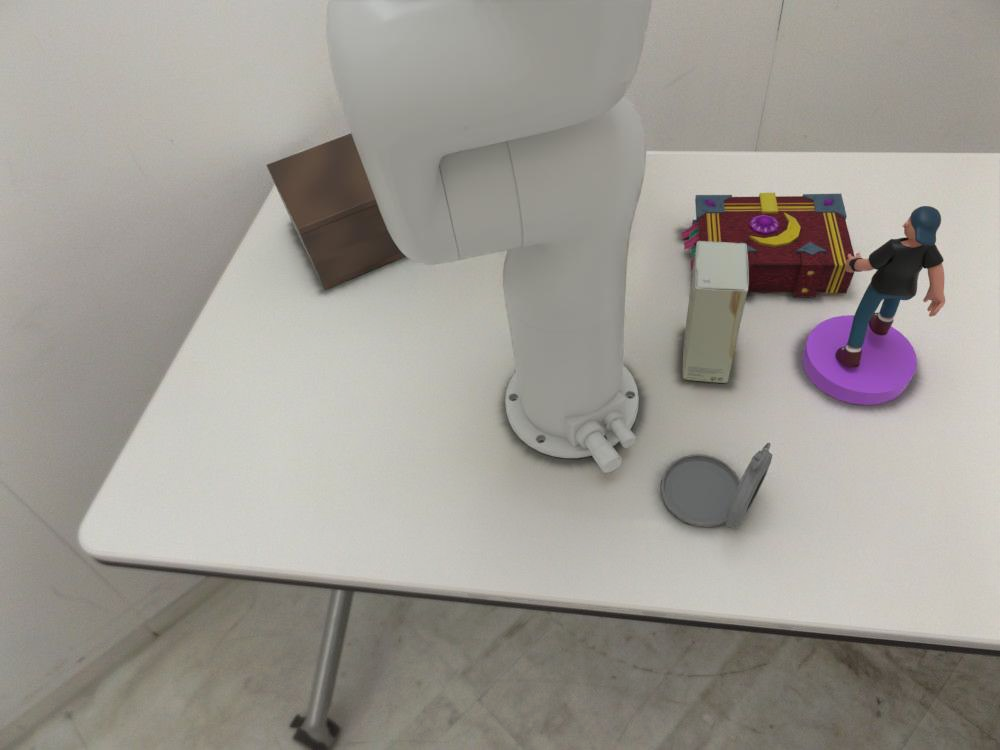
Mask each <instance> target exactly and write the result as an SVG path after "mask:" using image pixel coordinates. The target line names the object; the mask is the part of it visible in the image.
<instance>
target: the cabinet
mask: <svg viewBox="0 0 1000 750" xmlns="http://www.w3.org/2000/svg"><path fill="white" fill-rule="evenodd" d="M266 168H267V170H268V172H269V174H270V176H271V179H272V181H273V183H274V185H275V188H276V191H277V192H278V195H279V197H280V199H281V201H282V203H283V207H284V208H285V210H286V212H287V215H288V218H289V220H290V221H291V224H292V225H293V228H294V230H295V232H296V234H297V236H298V238H299V240H300V242H301V244H302V247H303V248H304V250H305V252H306V254H307V256H308V258H309V261H310V263H311V264H312V267H313V269H314V271H315V273H316V275H317V277H318V279H319V281H320V283H321V285H322V287H323V290H325V291H326V290H328V289H331V288H333V287H336V286H338V285H340V284H343V283H344V282H348V281H350V280H352V279H355V278H357V277H360V276H362V275H365V274H367V273H369V272H371V271H374V270H376V269H379V268H381V267H384V266H386V265H388V264H390V263H394V262H395V261H398V260H400V259H403V258H405V257H406V256H405V255H404V254H403V253H402V252H401V251H400V250H399V248H398V247H397V245H396V244H395V242H394V241H393V239H392V237H391V235H390V234H389V232H388V229H387V227H386V225H385V222H384V220H383V217H382V215H381V213H380V210H379V207H378V204H377V202H376V199H375V196H374V193H373V191H372V188H371V185H370V183H369V180H368V177H367V175H366V172H365V169H364V166H363V164H362V161H361V158H360V156H359V153H358V150H357V148H356V145H355V142H354V140H353V137H352V134H351V132H350V133H348V134H345V135H343V136H340V137H337V138H334V139H332V140H329V141H327V142H323V143H321V144H318V145H316V146H313V147H310V148H308V149H305V150H302V151H300V152H297V153H294V154H292V155H288V156H287V157H283V158H281V159H277V160H275V161H273V162H270V163H267V164H266Z"/></svg>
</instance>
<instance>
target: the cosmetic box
mask: <svg viewBox="0 0 1000 750" xmlns="http://www.w3.org/2000/svg"><path fill="white" fill-rule="evenodd" d="M748 284H749V271H748V254H747V244H745V243H727V242H711V241H698V242H697V245H696V252H695V260H694V268H692V276H691V283H690V290H689V291H690V292H689V300H688V307H687V314H686V322H685V330H684V335H683V336H684V337H683V350H682V351H683V352H682V353H683V354H682V379H683V380H685V381H687V380H688V381H697V382H707V383H720V384H721V383H722V384H727V383H728V382H729V378H730V374H731V369H732V366H733V365H732V364H733V360H734V355H735V352H736V351H735V350H736V346H737V342H738V337H739V332H740V328H741V323H742V318H743V313H744V310H745V304H746V299H747V296H748V294H747V292H748ZM748 293H749V292H748Z"/></svg>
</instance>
